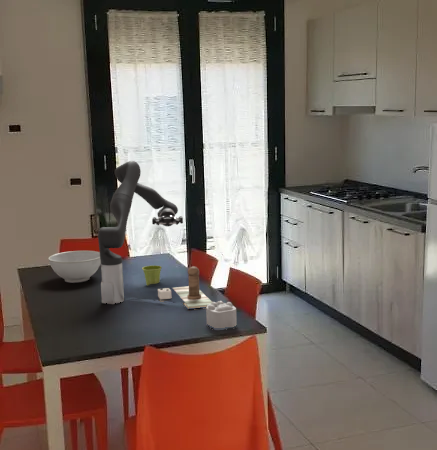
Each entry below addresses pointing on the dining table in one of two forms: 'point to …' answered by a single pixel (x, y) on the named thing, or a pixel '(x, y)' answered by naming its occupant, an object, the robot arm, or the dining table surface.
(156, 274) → the plant pot
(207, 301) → the game board
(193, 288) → the pawn
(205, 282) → the dining table surface
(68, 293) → the dining table surface
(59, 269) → the decorative bowl
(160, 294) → the die
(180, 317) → the dining table surface
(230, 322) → the lumpy-topped squat cylinder
